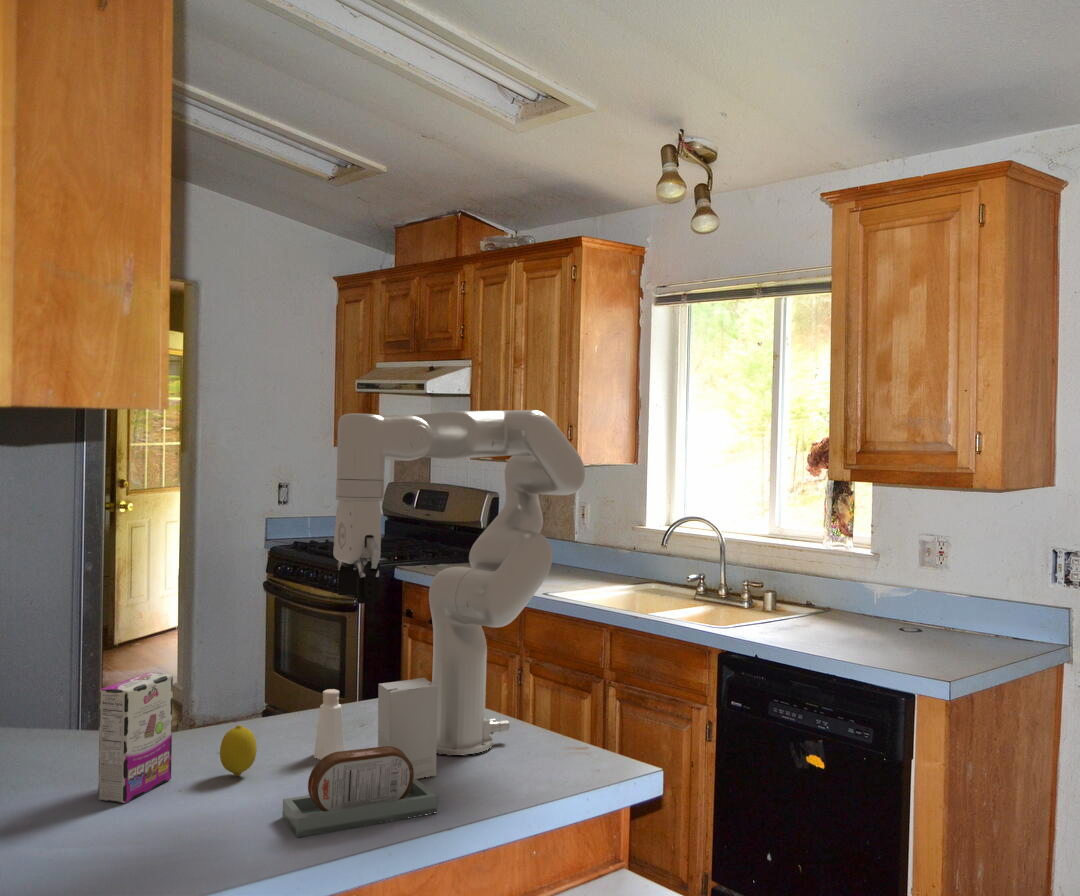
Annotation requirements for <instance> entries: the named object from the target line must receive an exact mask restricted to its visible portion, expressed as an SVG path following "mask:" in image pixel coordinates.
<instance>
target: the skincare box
mask: <svg viewBox="0 0 1080 896" xmlns="http://www.w3.org/2000/svg"><path fill="white" fill-rule="evenodd" d="M437 688H438V686H436V685H435V684H433V683H432V681H430V680H428V679H427V678H425V677H420V678H419V677H418V678H413V679H406V680H396V681H391V682H383V683H378V698H377V699H378V701H377V704H378V705H377V708H378V709H377V717H378V718H377V733H378V734H377V747H382V746H393V747H396V748H398V749H400V750H401V751H402V752H403V753H404V754H405V755H406V757H407V758H408V759H409V760H410V762H411V764H412V766H413V771H414V778H413V779H417V780H419V779H425V778H424V777H426V778H430V776H431V777H435V776H437V754H436V746H437Z"/></svg>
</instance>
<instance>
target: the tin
mask: <svg viewBox="0 0 1080 896" xmlns="http://www.w3.org/2000/svg"><path fill="white" fill-rule="evenodd" d="M413 778H414V771H413V766H412V764H411V762H410V760H409V759H408V758H407V757H406V755H405V754H404V753H403V752H402V751H401V750H400V749H398V748H396V747H393V746H382V747H378V746H376V747H375V746H374V747H366V748H359V749H350V750H344V751H339V752H334V753H331V754H329V755H327V756H325V757H324V758H322V759H321V760H320V759H319V761H318V762H317V763H316V764H315V766H314V767H313V768H312V770H311V772H310V775H309V777H308V780H307V781H308V782H307V789H308V795H310V798H311V799H312V801H313V802H314V803H315V804H316V805H317V806H318V807H319V808H320V809H321V810H322V811H323V812H324V811H331V810H337V809H343V808H349V807H355V806H362V805H368V804H374V803H380V802H386V801H392V800H399V799H404V798H405V797H406V795H407V794H408V793H409V791H410V789H411V786H412V783H413Z"/></svg>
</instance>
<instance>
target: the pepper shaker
mask: <svg viewBox="0 0 1080 896" xmlns="http://www.w3.org/2000/svg"><path fill="white" fill-rule="evenodd" d="M339 699H340V690H338V689H335V688H332V689H331V688H329V689H328V688H327V689H325V690H323V691H322V703H321V704H320V706H319V712H318V713H319V714H318V722H317V729H316V736H315V745H314V746H315V747H314V750H313V752H314V753H313V758H314V759H316V758H317V759H316V760H319V761H320V760H321V759H322V758H324V757H325V756H327V755H329V754H331V753H334V752H339V751H345V743H344V730H343V726H344V725H343V715H342V713H343V712H342V704H340V703H339Z"/></svg>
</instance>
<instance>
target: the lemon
mask: <svg viewBox="0 0 1080 896" xmlns="http://www.w3.org/2000/svg"><path fill="white" fill-rule="evenodd" d="M220 743H221V744H220V748H219V749H220V750H219V759H220V762H221V765H222V766H223V768H224V769H225V770H226V771H227V772H229V773H232V774H233V775H234V776H235V777H239V776H241V775H242V774H243V773H244V772H245V771H248V770H249V769H250V768H251V767H252V766H253V764H254V762H255V760H256V756H257V749H258V748H257V747H258V746H257V741H256V738H255V735H254V733H253V732H252V731H251V730H250V729H249V728H247V727H245V726H242V725H241V724H237V725H236V726H235V727H233V728H231V729H230V730H229V731H227V732H226V733H225V734H224V736H223V738H222V739H221V742H220Z"/></svg>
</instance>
